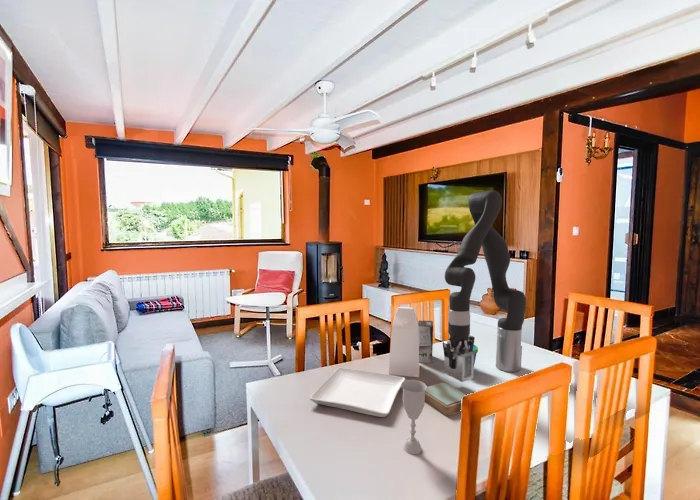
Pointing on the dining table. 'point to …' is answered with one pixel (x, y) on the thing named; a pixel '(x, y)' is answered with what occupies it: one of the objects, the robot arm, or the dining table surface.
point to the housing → (461, 365)
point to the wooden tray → (444, 398)
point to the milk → (404, 343)
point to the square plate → (359, 391)
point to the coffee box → (425, 341)
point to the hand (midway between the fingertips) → (458, 366)
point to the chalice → (413, 410)
